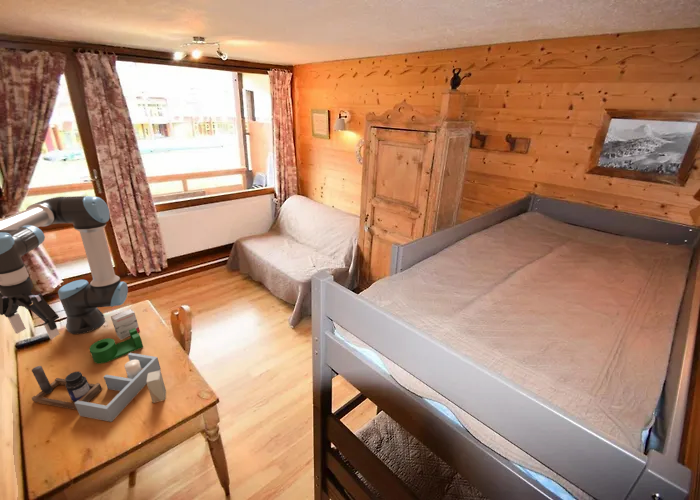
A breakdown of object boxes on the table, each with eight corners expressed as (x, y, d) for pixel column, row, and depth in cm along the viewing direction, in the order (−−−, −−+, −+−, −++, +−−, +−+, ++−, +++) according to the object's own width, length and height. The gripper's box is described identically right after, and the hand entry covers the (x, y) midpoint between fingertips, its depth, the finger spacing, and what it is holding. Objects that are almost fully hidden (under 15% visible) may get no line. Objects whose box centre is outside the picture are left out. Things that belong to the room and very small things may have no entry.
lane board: (133, 364, 140) (129, 352, 137) (160, 368, 138) (157, 357, 135) (80, 415, 117) (74, 403, 114) (111, 421, 115) (106, 409, 112)
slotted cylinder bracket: (96, 367, 138) (91, 355, 135) (91, 356, 143) (87, 344, 141) (143, 347, 149) (140, 336, 147) (137, 337, 155) (134, 327, 152)
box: (154, 393, 127) (147, 372, 122) (166, 390, 128) (160, 369, 124) (152, 403, 122) (145, 382, 118) (165, 400, 124) (159, 379, 119)
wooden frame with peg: (56, 381, 130) (46, 358, 125) (102, 389, 127) (93, 366, 122) (31, 401, 121) (19, 378, 116) (79, 410, 118) (69, 387, 113)
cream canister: (135, 373, 135) (131, 358, 132) (146, 375, 135) (142, 360, 131) (126, 382, 131) (121, 367, 127) (137, 384, 130) (132, 369, 127)
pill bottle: (71, 396, 124) (62, 375, 119) (91, 388, 128) (82, 367, 123) (73, 407, 120) (63, 385, 115) (93, 398, 123) (84, 377, 119)
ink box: (136, 327, 162) (130, 307, 157) (140, 331, 159) (134, 311, 154) (116, 335, 155) (109, 315, 150) (120, 340, 153) (113, 320, 148)
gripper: (-34, 282, 101) (-6, 335, 110) (35, 291, 98) (58, 345, 107) (-7, 270, 108) (18, 322, 117) (59, 279, 105) (79, 331, 114)
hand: (37, 333), depth 112 cm, fingers open, 13 cm apart
